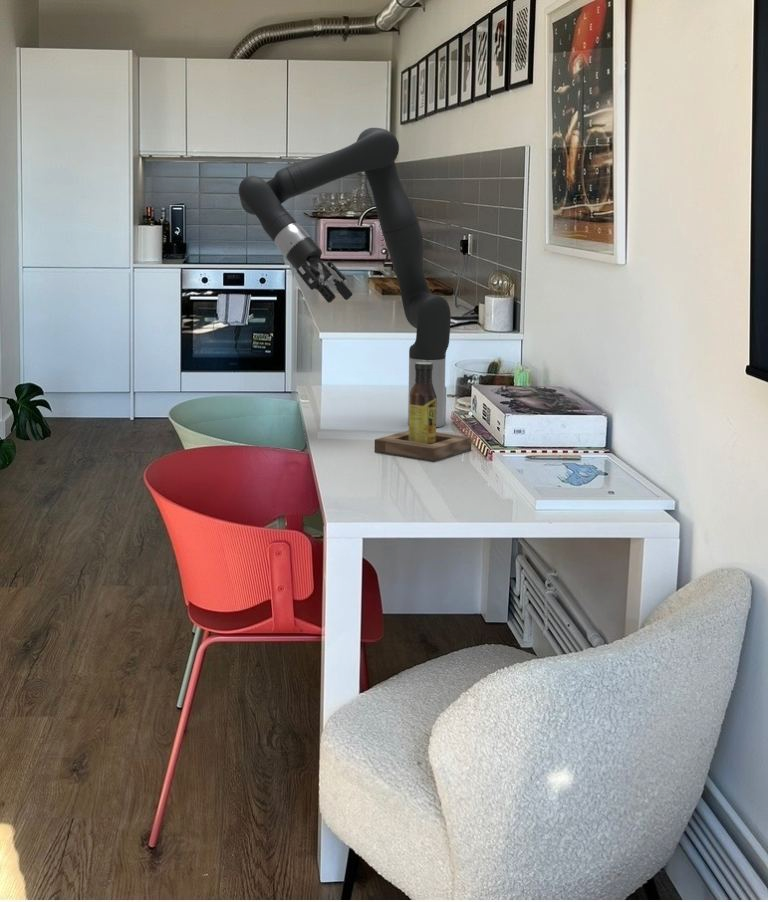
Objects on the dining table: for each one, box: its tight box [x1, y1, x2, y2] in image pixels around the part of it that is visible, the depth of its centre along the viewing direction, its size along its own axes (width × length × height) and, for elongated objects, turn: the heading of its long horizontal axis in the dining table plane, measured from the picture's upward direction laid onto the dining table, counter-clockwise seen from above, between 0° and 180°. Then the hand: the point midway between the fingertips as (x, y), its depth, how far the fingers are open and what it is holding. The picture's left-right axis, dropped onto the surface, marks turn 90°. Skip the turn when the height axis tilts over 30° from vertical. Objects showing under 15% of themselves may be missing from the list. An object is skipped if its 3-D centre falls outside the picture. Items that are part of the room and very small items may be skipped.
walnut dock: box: [373, 429, 473, 463], centre depth 277 cm, size 16×16×3 cm
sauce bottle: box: [408, 362, 437, 444], centre depth 275 cm, size 7×6×20 cm
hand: (341, 298), depth 280 cm, fingers open, 8 cm apart
